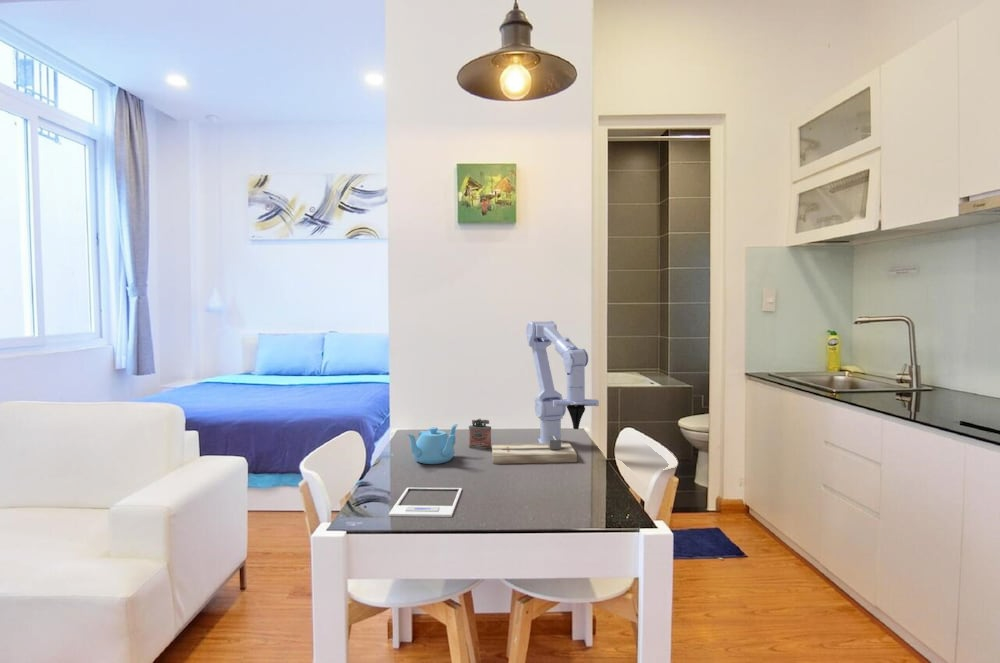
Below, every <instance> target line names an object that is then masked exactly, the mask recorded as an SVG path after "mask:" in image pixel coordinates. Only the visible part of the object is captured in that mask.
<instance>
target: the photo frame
mask: <svg viewBox="0 0 1000 663" xmlns="http://www.w3.org/2000/svg"><path fill="white" fill-rule="evenodd" d="M409 490H429V491H430V490H441V491H443V490H444V491H445V490H447V491H449V490H451V491H456V490H457V492H456V496H455V498H454V501H453V503H452V505H408V504H407V505H403V504H402V505H400V504H401V502H402V501H403V500H404V498H405V497H406V495H407V494H408V493H409ZM462 490H463V488H462V487H406V488H405V489H404V491H403V492H402V494H401V495H400V497H399V498H398V500H397V501H396V503H395V504H394V505H393V507H392V508H391V510H390V511H389V513H388V517H418V518H419V517H421V518H422V517H423V518H424V517H427V518H428V517H432V518H453V514H454V512H455V510H456V507H457V503H458V500H459V498H460V496H461V493H462Z"/></svg>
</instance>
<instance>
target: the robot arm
mask: <svg viewBox="0 0 1000 663" xmlns="http://www.w3.org/2000/svg"><path fill="white" fill-rule="evenodd" d="M525 335H526V339H527V344H528V346H529V347H530V348H531V351H532V352H531V353H532V356H533V362H534V366H535V371H536V376H537V377H536V378H537V381H538V382H537V383H538V387H539V393H538V395H537V396H535V397H534V398H535V399H534V411H535V414H536V416H537V419H539V420H540V421H539V422H540V429H539V430H540V432H539V433H540V434H539V436H540V438H537V440H538V443H548V436H559V438H560V439H561V443H563V441H562V438H561V437H562V427H561V425H562V419H564V418H563V417H565V416H566V415H565V414H566V412H567V411H568V413H569V416H570V418H571V423H572V429H573V430H579V428H580V423H581V420H582V417H583V415H584V413H585V411H586V407H600V406H599V405H600V401H599V399H596V398H595V399H592V398H591V399H588V398H585V394H586V391H585V390H586V388H585V385H586V384H585V383H586V381H585V380H586V379H585V372H586V370H585V367H587V365H588V362H589V355H588V351H586V349H585V348H578V347H577V346H576V345H575V343H573V342H572V341H571V339H570V337H563V336H562V335H561V334H560V332H559V331H558V327H557V323H555V321H553V320H550V321H529V322H528V323H527V325H526V330H525ZM552 344H554V349H555V351H556V353H557V354H559V356H560V357H561V358H562V363H563V364H564V370H565V373H566V399H564V398H563V396H562V394H561V393H560V392H558V391H557V390H555V386H554V380H553V376H552V372H551V371H552V370H551V367H550V361H549V357H548V353H547V347H550V346H551V345H552Z"/></svg>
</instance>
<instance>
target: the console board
mask: <svg viewBox="0 0 1000 663" xmlns="http://www.w3.org/2000/svg"><path fill="white" fill-rule="evenodd" d="M491 452H492V453H491V454H492V456H491V457H492V464H493V465H496V464H497V465H498V464H499V465H500V464H501V465H502V464H505V465H506V464H507V465H508V464H541V463H542V464H545V463H547V464H550V463H553V464H554V463H578V453H577V452H576V451H575V448H574V447H573V446H572V445H571V443H570V442H562V443H561V449H550V448H549V446H548V443H539V442H538V443H537V442H536V443H534V442H533V443H531V442H530V443H491Z"/></svg>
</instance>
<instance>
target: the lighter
mask: <svg viewBox="0 0 1000 663" xmlns="http://www.w3.org/2000/svg"><path fill="white" fill-rule="evenodd" d="M471 424H472V425H468V431H469V432H468V433H469V435H468V436H469V444H468V448H469V449H472V450H489V451H490V450H492V431H491V430H492V426H490V425H489V424H490V420H489V419H481V418H478V419H471Z"/></svg>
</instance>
